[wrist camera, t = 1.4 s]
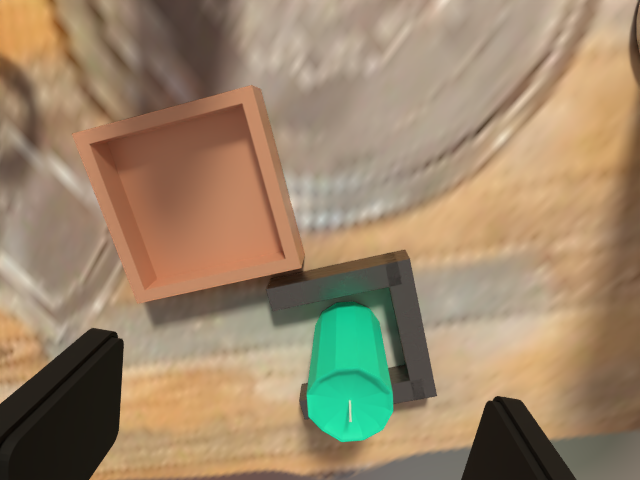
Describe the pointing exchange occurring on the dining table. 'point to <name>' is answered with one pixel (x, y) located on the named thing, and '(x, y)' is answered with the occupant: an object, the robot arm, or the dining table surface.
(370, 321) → the candle
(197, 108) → the tray
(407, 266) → the dock
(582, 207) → the dining table surface
